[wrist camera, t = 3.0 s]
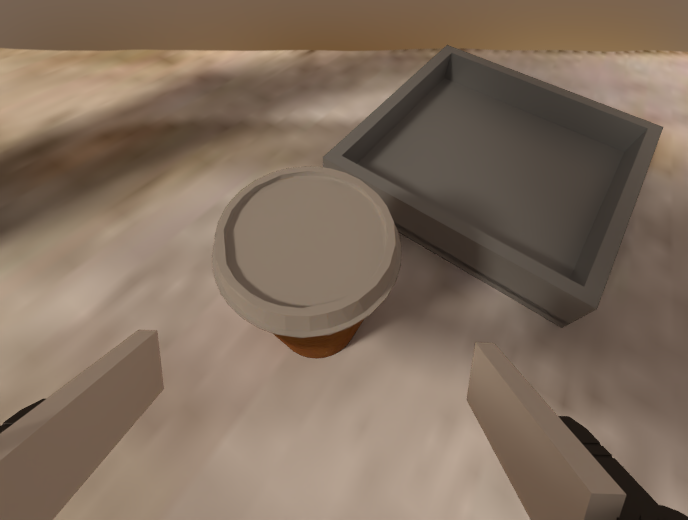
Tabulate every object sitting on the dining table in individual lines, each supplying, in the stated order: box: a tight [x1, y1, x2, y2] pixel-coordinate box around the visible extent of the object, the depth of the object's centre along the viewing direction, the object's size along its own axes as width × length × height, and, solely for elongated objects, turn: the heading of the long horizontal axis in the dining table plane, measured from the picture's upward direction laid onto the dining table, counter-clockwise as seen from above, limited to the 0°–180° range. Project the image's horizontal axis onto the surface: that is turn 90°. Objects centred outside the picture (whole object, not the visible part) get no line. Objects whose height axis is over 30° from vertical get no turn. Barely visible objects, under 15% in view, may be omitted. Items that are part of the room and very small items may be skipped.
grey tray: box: [323, 45, 663, 328], centre depth 33 cm, size 24×24×4 cm
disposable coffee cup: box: [212, 166, 401, 358], centre depth 21 cm, size 10×10×12 cm
